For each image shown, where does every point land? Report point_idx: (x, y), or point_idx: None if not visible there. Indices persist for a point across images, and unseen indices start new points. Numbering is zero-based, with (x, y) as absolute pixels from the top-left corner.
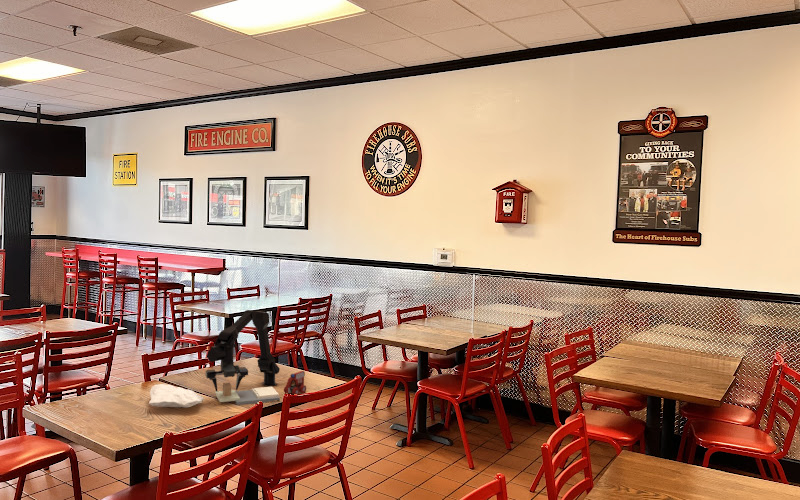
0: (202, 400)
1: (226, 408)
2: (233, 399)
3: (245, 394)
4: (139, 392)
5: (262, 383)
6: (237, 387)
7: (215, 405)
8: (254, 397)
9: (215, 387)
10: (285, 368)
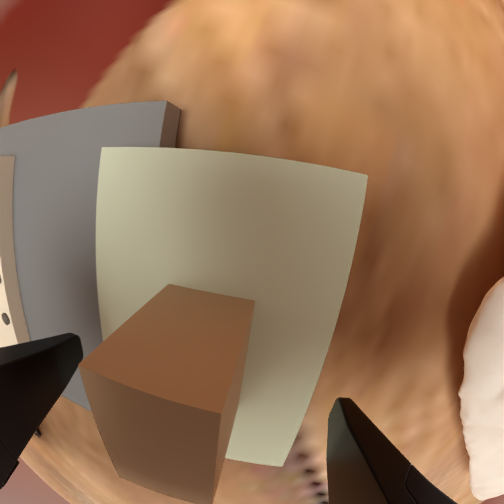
0: (498, 282)
1: (308, 56)
2: (178, 149)
3: (59, 318)
4: (468, 496)
5: (37, 429)
6: (49, 341)
7: (383, 212)
8: (20, 200)
9: (383, 441)
10: (27, 462)
